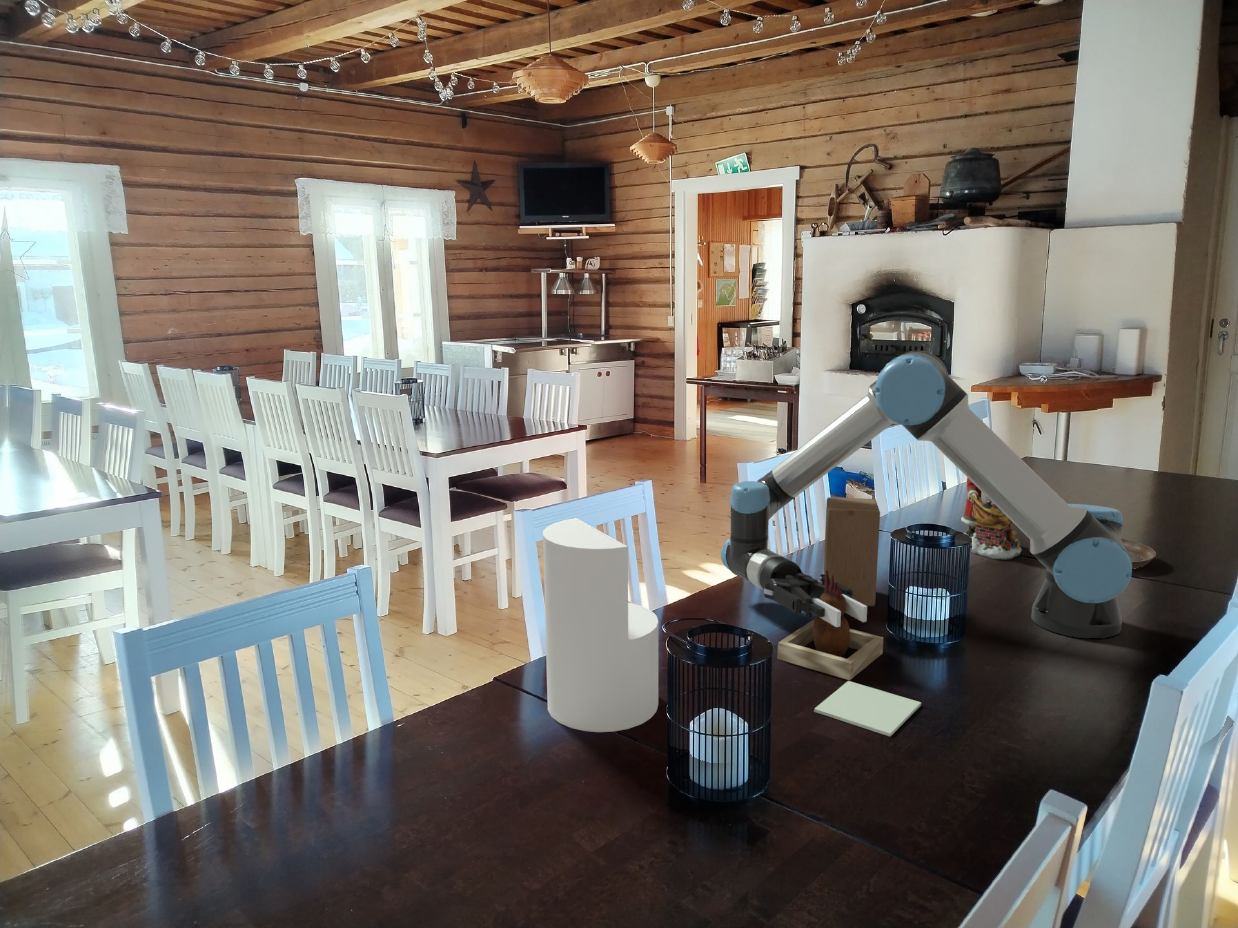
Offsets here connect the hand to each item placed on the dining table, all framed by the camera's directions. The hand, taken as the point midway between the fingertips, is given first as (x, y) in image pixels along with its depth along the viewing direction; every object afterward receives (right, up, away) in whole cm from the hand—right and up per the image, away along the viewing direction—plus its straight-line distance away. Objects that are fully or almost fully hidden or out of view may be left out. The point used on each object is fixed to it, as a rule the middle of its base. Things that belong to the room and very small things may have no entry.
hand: (851, 616), depth 147 cm
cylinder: (-41, -12, -10) cm, 44 cm away
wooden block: (+9, -2, +35) cm, 36 cm away
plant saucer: (+74, +3, +57) cm, 93 cm away
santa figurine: (+51, +5, +66) cm, 83 cm away
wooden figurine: (-2, -8, +7) cm, 11 cm away
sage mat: (-1, -12, -12) cm, 17 cm away
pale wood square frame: (-2, -8, +7) cm, 11 cm away
